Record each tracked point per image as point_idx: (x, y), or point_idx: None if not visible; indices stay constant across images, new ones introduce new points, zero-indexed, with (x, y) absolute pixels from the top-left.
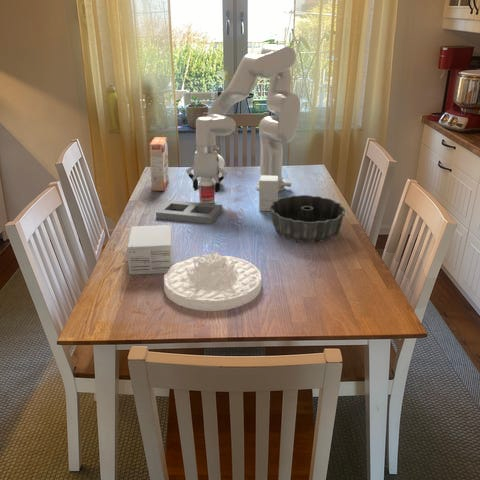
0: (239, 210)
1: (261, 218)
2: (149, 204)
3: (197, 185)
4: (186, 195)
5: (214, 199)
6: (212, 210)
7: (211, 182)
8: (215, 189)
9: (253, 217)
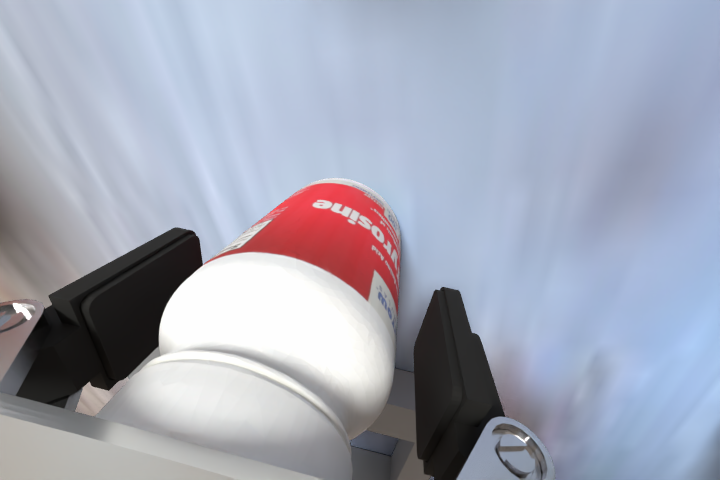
0: (577, 382)
1: (680, 476)
2: (36, 280)
3: (168, 275)
4: (124, 79)
5: (400, 242)
6: (404, 469)
7: (353, 435)
8: (416, 375)
9: (635, 462)
